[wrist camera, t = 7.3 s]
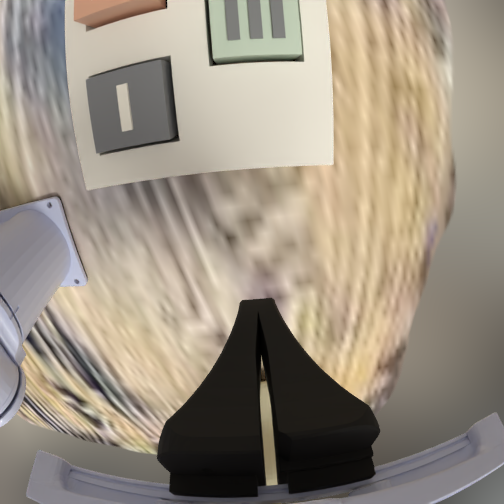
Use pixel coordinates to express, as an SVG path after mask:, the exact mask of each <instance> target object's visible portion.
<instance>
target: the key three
mask: <svg viewBox="0 0 504 504" xmlns="http://www.w3.org/2000/svg"><path fill="white" fill-rule="evenodd" d="M209 13H210V26H211V40H212V53H213V59H214V61H215V62H216V63H217V64H227V63H239V62H254V61H292V60H294V59H295V58H297V57H299V56H300V55H302V45H301V32H300V21H299V10H298V0H209Z"/></svg>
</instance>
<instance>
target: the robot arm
mask: <svg viewBox="0 0 504 504" xmlns="http://www.w3.org/2000/svg"><path fill="white" fill-rule="evenodd" d="M49 202H50V203H51V204H52V206H50V204H49ZM76 279H77V280H78V281H77V280H76ZM87 282H88V279H87V277H86V274H85V272H84V269H83V266H82V264H81V261H80V258H79V256H78V253H77V250H76V247H75V245H74V242H73V239H72V236H71V233H70V230H69V227H68V223H67V220H66V217H65V214H64V210H63V207H62V203H61V201H60V199H59V198H58V197H51V198H46V199H42V200H38V201H34V202H30V203H26V204H22V205H19V206H15V207H11V208H8V209H4V210H0V427H1V426H3V425H4V424H6V423H7V422H8V421H10V420H11V419H12V418H13V417H14V415H15V414H16V413H17V411H18V409H19V408H20V406H21V403H22V401H23V398H24V395H25V390H26V377H25V374H24V371H23V369H22V368H21V366H20V365H21V363H22V361H23V359H24V358H25V356H26V353H25V351H24V350H23V348H22V344H23V342H24V340H25V338H26V337H27V335H28V333H29V332H30V330H31V329H32V327H33V325H34V324H35V322H36V321H37V319H38V317H39V316H40V314H41V313H42V311H43V310H44V308H45V307H46V305H47V304H48V302H49V301H50V299H51V298H52V296H53V295H54V293H55V292H56V290H57V289H58V288H59V287H66V286H84V285H86V284H87ZM261 355H262V361H263V366H264V371H265V376H266V382H267V387H268V392H269V397H270V404H271V414H272V425H273V436H274V448H275V460H276V472H277V484H278V485H269V486H266V473H265V461H264V448H263V435H262V422H261V408H260V385H261ZM379 433H380V429H379V425H378V422H377V420H376V418H375V416H374V414H373V412H372V410H371V408H370V407H369V405H367V404H366V403H364V402H363V401H361V400H360V399H358V398H357V397H355V396H354V395H352V394H351V393H349V392H348V391H347V390H345V389H344V388H343V387H342V386H340V385H339V384H338V383H337V382H336V381H334V380H333V379H332V378H331V377H330V376H329V375H328V374H326V373H325V372H324V371H323V370H322V369H321V368H320V367H319V366H318V365H317V364H316V363H315V362H314V361H313V359H312V358H311V357H310V356H309V355H308V354H307V353H306V351H305V350H304V349H303V348H302V346H301V345H300V344H299V342H298V341H297V340H296V338H295V337H294V336H293V334H292V333H291V331H290V329H289V328H288V326H287V325H286V323H285V321H284V320H283V318H282V316H281V314H280V312H279V310H278V308H277V306H276V304H275V301H274V299H272V298H266V299H253V300H242V301H241V302H240V306H239V310H238V314H237V317H236V320H235V323H234V326H233V329H232V331H231V334H230V336H229V338H228V340H227V342H226V344H225V347H224V349H223V351H222V353H221V354H220V356H219V358H218V360H217V361H216V363H215V365H214V366H213V368H212V370H211V371H210V373H209V374H208V375H207V377H206V378H205V380H204V381H203V382H202V384H201V385H200V386H199V388H198V389H197V390H196V391H195V392H194V394H193V395H192V396H191V397H190V398H189V399H188V400H187V402H186V403H185V404H184V405H183V406H182V407H181V408H180V409H179V410H178V411H177V412H176V413H175V414H174V415H173V416H171V417H170V418H169V419H168V420H167V421H166V423H165V425H164V428H163V430H162V433H161V436H160V440H159V445H158V454H157V459H158V461H159V462H160V463H161V464H162V465H163V466H164V467H165V468H166V469H167V470H168V471H169V472H170V484H161V483H153V482H146V481H140V480H133V479H128V478H122V477H117V476H112V475H108V474H103V473H99V472H95V471H91V470H87V469H83V468H80V467H76V466H73V465H70V464H69V463H68V462H67V461H66V460H64V459H63V458H60V457H58V456H56V455H53V454H50V453H47V452H44V451H41V450H38V451H37V455H36V458H35V462H34V465H33V468H32V472H31V476H30V480H29V484H28V488H27V493H26V496H27V497H29V498H31V499H33V500H35V501H37V502H39V503H41V504H276V503H285V502H295V501H302V500H309V499H315V498H322V497H327V496H332V495H337V494H342V493H346V492H350V493H349V497H345V498H339V499H337V498H334V499H333V498H332V499H323V500H315V501H308V502H301V503H293V504H435V503H437V502H439V501H441V500H443V499H446V498H448V497H450V496H451V495H454V494H455V493H457V492H459V491H461V490H463V489H465V488H467V487H468V486H470V485H472V484H474V483H475V482H477V481H479V480H480V479H482V478H484V477H485V476H487V475H488V474H490V473H491V472H493V471H495V470H496V469H497V468H499V467H500V466H502V465H503V464H504V427H503V425H502V423H501V420H500V418H499V416H498V414H497V413H496V412H495V413H493V414H491V415H489V416H487V417H486V418H484V419H482V420H480V421H478V422H477V423H475V424H474V425H473V426H472V427H471V428H470V429H469V430H468V431H467V432H466V433H464V434H462V435H460V436H458V437H456V438H454V439H451V440H449V441H447V442H444V443H442V444H440V445H437V446H435V447H432V448H430V449H427V450H425V451H422V452H420V453H417V454H414V455H411V456H408V457H406V458H403V459H400V460H396V461H394V462H390V463H387V464H384V465H380V466H376V467H374V465H373V461H372V456H373V450H372V447H371V445H372V444H373V443H374V441H375V440H376V438H377V437H378V435H379ZM351 491H352V492H351Z"/></svg>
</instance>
